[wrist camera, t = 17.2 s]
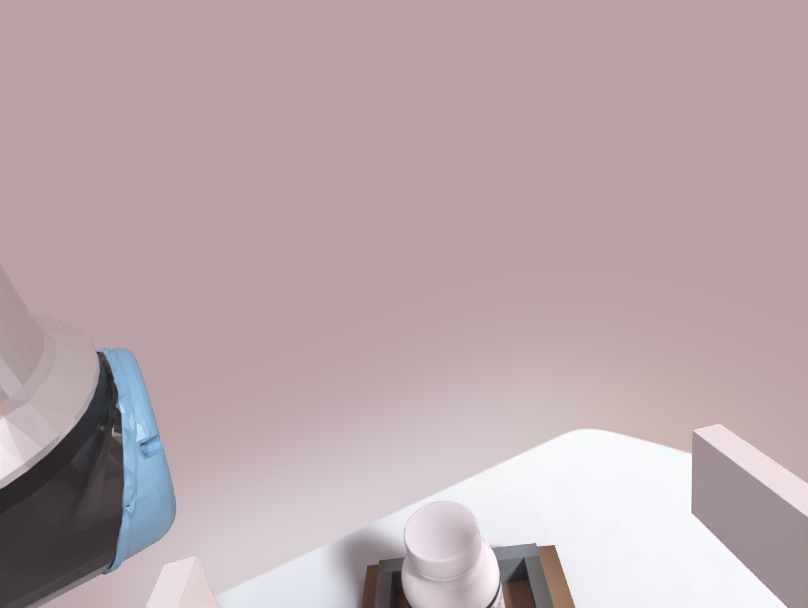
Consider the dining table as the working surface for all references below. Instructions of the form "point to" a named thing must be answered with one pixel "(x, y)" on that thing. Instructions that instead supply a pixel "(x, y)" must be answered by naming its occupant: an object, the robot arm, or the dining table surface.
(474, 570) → the pill bottle
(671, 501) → the dining table surface
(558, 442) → the dining table surface
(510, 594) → the trough board
